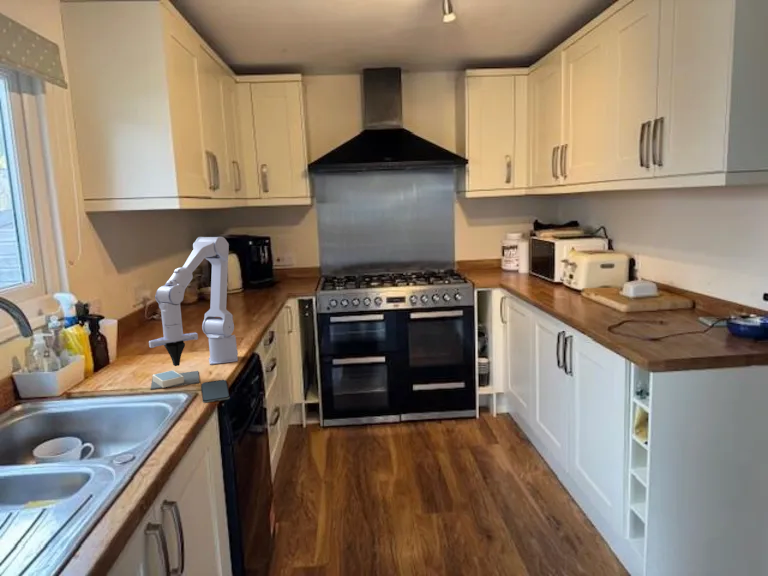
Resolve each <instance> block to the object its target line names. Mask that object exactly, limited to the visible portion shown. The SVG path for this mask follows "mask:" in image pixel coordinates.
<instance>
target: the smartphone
mask: <svg viewBox="0 0 768 576" xmlns="http://www.w3.org/2000/svg"><path fill="white" fill-rule="evenodd" d="M200 389H201V390H200V391H201V397H202V403H204V404H206V403H214V402H220V401H221V402H222V401H226V400H227V401H228V400H230V399H231V397H230V392H229V386H228V383H227V380H226V379H218V380H211V381H206V382H202V383H201V387H200Z"/></svg>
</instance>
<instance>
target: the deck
mask: <svg viewBox="0 0 768 576" xmlns="http://www.w3.org/2000/svg"><path fill="white" fill-rule="evenodd" d="M179 373H180V372H179ZM179 373H178V372H177V371H176V370H174V369H172V370H167V371H164V372H158V373H156V374H155V373H154V374H152V378H153V381H154V382H155V383H157V384H158V385H160V386H161V387H163V388H162V389H165V388H164V387H167V388H169V387H168V386H172V385H176V384H180V383H184V376H182V375H180V374H179Z"/></svg>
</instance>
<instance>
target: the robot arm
mask: <svg viewBox="0 0 768 576" xmlns="http://www.w3.org/2000/svg"><path fill="white" fill-rule="evenodd" d="M229 246H230V244H229V242H228V241H227V239H226V238H225V237H224V236H198V237H197V238H196V240H195V241H193V244H192V249H193V250H192V251H191V253H190V254H189V255H188V257H187V258H186V261H185V262H184V264H183V265H182V267H177V268H175V269H174V270H173V273H172V275H171V276H170V277H169V279H168V280H167V281H166V282H165V284H164V285H161V286H160V287H158V289H157V290H156V291H155V295H154V299H155V301H156V303H158V308H159V310H160V312H161V313H160V314H161V323H162V333H163V337H162V336H161V337H159V338H155V339H152V340H149V341H148V346H149V348H151V349H153V348H155V347H160V346H164V348H165V349H166V351H167V352H168V355H169V357H170V360H171V362H172V365H173V366H174V367H178V366H180V363H181V358H182V354H183V351H184V349H185V346H186V343H185V342H188V341H192V340H193V341H196V340H199V335H198V333H197V332H189V333H184V331H183V329H184V328H183V320H182V309H181V303H182V302H183V301H184V296H185V292H186V288H187V287H188V286H189V284H190V283H191V281H192V280H193V278H194V275H193V272H194V271H195V270H197V268H198V267H199V265H200V264H201V263H202V262H203V260H204V259H205V260H206V261H208V262H209V263H210V264H211V279H210V280H211V281H210V302H209V303H210V308H209V309H208V310H207V311H206V312H205V313H204V317H203V318H204V319H203V321H202V325H201V329H202V332H203V334H204V335H206V338H208V348H209V357H208V362H209V365H217V364H226V363H233V362H238V361H239V360H238V359H239V358H238V355H239V353H238V349H237V348H238V346H237V345H238V344H237V339H236V338H237V337H236V334H233V332H234V329H235V325H234V318H233V317H234V315H233V314H232V313H231V312H230V311H229V310H227V298H228V297H227V296H228V292H227V291H228V275H229V274H228V270H229V267H228V266H229V262H228V261H229V254H230V253H229V248H230V247H229Z"/></svg>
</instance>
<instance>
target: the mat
mask: <svg viewBox="0 0 768 576" xmlns="http://www.w3.org/2000/svg"><path fill="white" fill-rule="evenodd" d="M179 374H180V375H182V376H184V383H180V384H176V385H172V386H168V387H167V388H172V387H173V388H174V387H180V386H187V385H195V384H200V377H199V370H192V371H187V372H179ZM159 388H160V389H166V387H164V388H163V387H161V386H160V385H158V384H157V383H155V382H154V381H153V377H152V379H151V385H150V390H151V389H152V390H157V389H158V390H159Z"/></svg>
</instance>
